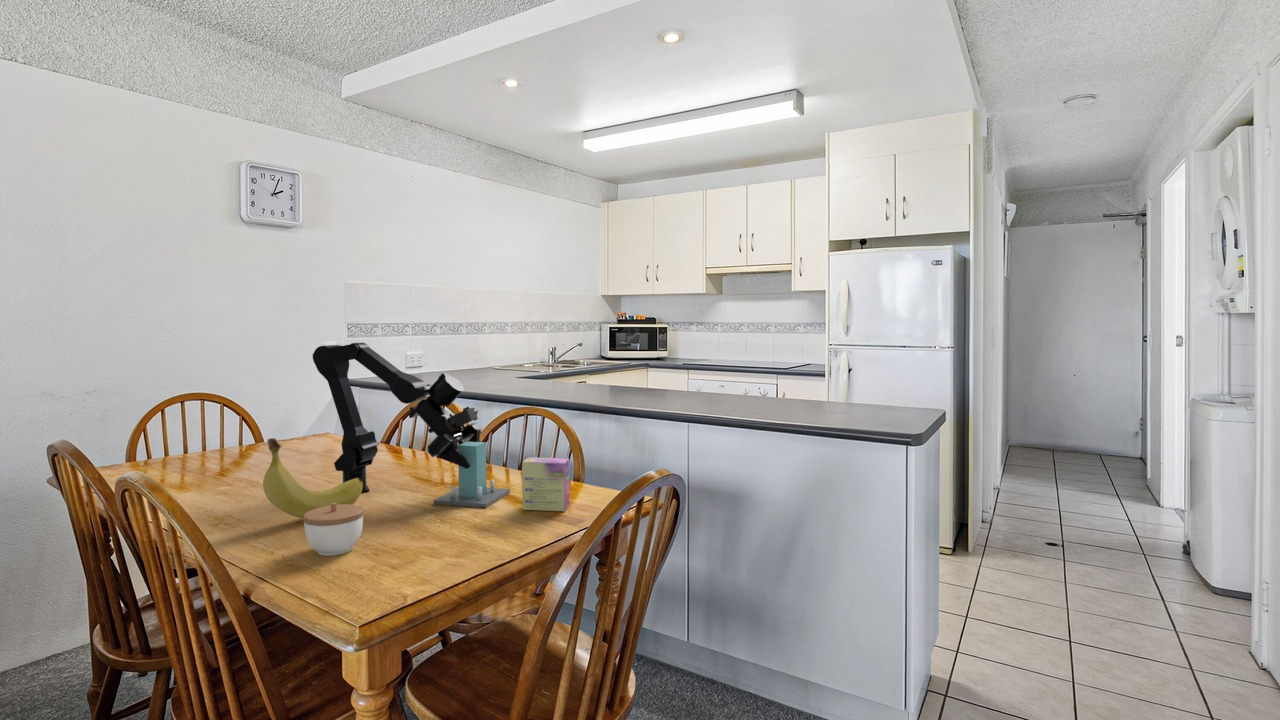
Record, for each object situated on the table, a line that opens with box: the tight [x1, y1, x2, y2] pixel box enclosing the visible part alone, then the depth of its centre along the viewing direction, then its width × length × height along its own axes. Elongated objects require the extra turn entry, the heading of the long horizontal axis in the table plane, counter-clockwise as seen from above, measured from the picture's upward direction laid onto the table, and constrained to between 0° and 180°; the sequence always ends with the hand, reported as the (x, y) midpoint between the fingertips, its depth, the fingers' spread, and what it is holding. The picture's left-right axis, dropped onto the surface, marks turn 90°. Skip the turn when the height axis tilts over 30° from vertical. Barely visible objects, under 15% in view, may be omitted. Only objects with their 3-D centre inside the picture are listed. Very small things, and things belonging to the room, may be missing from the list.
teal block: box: [458, 441, 488, 498], centre depth 165 cm, size 5×5×13 cm
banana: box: [262, 437, 363, 519], centre depth 148 cm, size 23×6×20 cm, turn 146°
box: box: [521, 456, 571, 513], centre depth 157 cm, size 10×6×12 cm, turn 84°
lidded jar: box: [302, 503, 365, 557], centre depth 128 cm, size 11×11×9 cm
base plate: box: [432, 479, 511, 508], centre depth 165 cm, size 14×14×4 cm
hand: (477, 463), depth 165 cm, fingers open, 9 cm apart
